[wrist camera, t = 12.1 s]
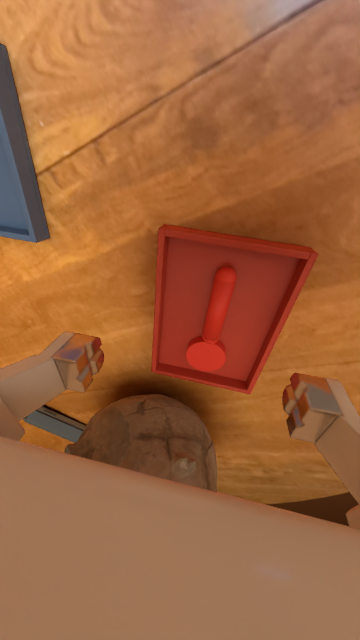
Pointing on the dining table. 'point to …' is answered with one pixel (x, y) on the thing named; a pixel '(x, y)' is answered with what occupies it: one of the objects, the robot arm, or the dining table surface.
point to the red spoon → (213, 325)
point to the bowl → (151, 440)
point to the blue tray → (17, 168)
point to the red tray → (244, 309)
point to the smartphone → (55, 423)
